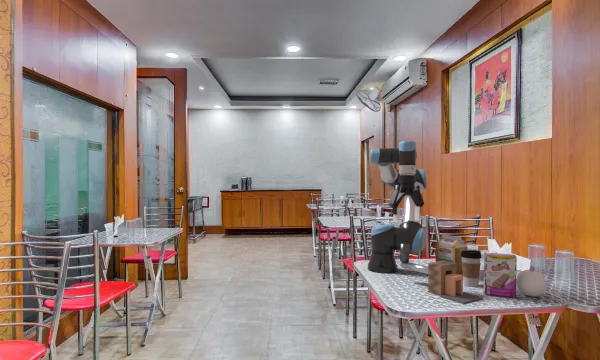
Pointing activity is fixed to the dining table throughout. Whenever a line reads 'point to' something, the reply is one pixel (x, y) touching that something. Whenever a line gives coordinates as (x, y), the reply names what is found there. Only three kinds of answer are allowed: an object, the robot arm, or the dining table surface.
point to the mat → (462, 298)
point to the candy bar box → (500, 274)
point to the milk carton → (450, 250)
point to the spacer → (453, 284)
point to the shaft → (405, 260)
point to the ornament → (531, 282)
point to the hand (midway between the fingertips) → (406, 221)
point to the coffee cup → (471, 267)
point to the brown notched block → (439, 275)
